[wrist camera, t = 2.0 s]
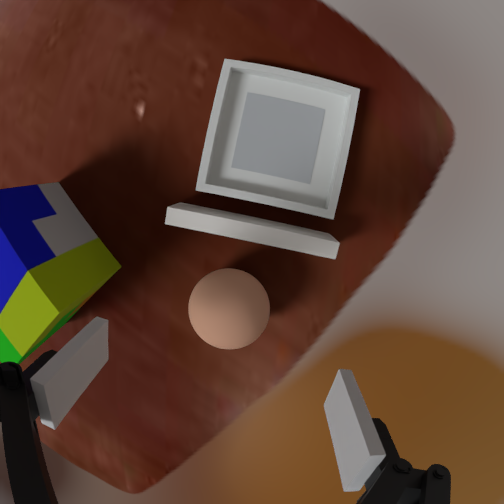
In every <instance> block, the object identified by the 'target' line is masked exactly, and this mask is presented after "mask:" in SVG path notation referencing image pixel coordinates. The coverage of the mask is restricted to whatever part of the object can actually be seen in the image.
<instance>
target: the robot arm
mask: <svg viewBox="0 0 504 504" xmlns="http://www.w3.org/2000/svg"><path fill="white" fill-rule="evenodd" d="M107 361H108V320H106V319H103V318H99V317H95V318H94V319H93V320H92V321H91V322H90V323H89V324H88V325H87V326H86V327H84V328H83V329H82V330H81V331H80V332H79V333H78V334H77V335H76V336H75V337H74V338H72V339H71V340H70V341H69V342H68V343H67V344H66V345H65V346H64V347H63V348H62V349H61V350H60V351H59V352H56V351H54V350H50V351H47V352H45V353H43V354H42V355H41V356H40V357H39V358H38V359H36V360H35V361H34V362H33V363H32V364H31V365H30V366H29V367H28V368H27V369H26V370H24V371H23V372H22V369H21V366H20V365H19V364H17V363H15V362H10V361H8V362H3V363H1V364H0V422H2V432H3V442H4V450H5V457H6V463H7V469H8V474H9V480H10V484H11V489H12V494H13V498H14V502H15V504H58V501H57V498H56V496H55V492H54V489H53V487H52V483H51V480H50V477H49V473H48V470H47V466H46V463H45V459H44V455H43V452H42V447H41V443H40V438H39V433H38V429H37V424H36V421H35V419H36V418H37V417H38V416H39V415H40V419H41V422H42V423H43V424H45V425H47V426H48V427H50V428H52V429H56V427H57V426H58V425H59V423H60V422H61V421H62V419H63V418H64V417H65V415H66V414H67V413H68V411H69V410H70V409H71V407H72V406H73V405H74V403H75V402H76V401H77V399H78V398H79V397H80V395H81V394H82V393H83V391H84V390H85V389H86V388H87V386H88V385H89V384H90V382H91V381H92V380H93V378H94V377H95V376H96V375H97V373H98V372H99V371H100V370H101V368H102V367H103V366H104V364H105V363H106V362H107ZM324 408H325V412H326V417H327V421H328V425H329V429H330V433H331V437H332V441H333V446H334V450H335V454H336V459H337V463H338V468H339V472H340V476H341V481H342V485H343V490H344V492H346V491H359V490H360V489H361V488H362V486H363V485H364V484H365V487H366V491H365V493H364V494H363V495H362V496H361V497H360V498H359V499H358V501H357V503H356V504H450V490H451V487H450V486H451V475H450V472H449V470H448V469H447V468H446V467H444V466H442V465H440V464H434V465H431V466H430V467H429V468H428V470H419V469H414V468H413V467H412V465H411V464H410V463H409V462H408V461H406V460H405V459H402V458H400V457H399V455H398V452H397V450H396V448H395V445H394V443H393V440H392V439H391V436H390V434H389V431H388V429H387V427H386V425H385V424H384V423H383V422H382V421H381V420H380V419H379V418H371V416H370V413H369V411H368V409H367V406H366V404H365V401H364V399H363V397H362V395H361V392H360V390H359V387H358V385H357V383H356V380H355V378H354V375H353V373H352V371H351V370H344V369H339V370H338V373H337V375H336V378H335V380H334V383H333V385H332V387H331V389H330V392H329V394H328V396H327V399H326V401H325V403H324Z"/></svg>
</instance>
